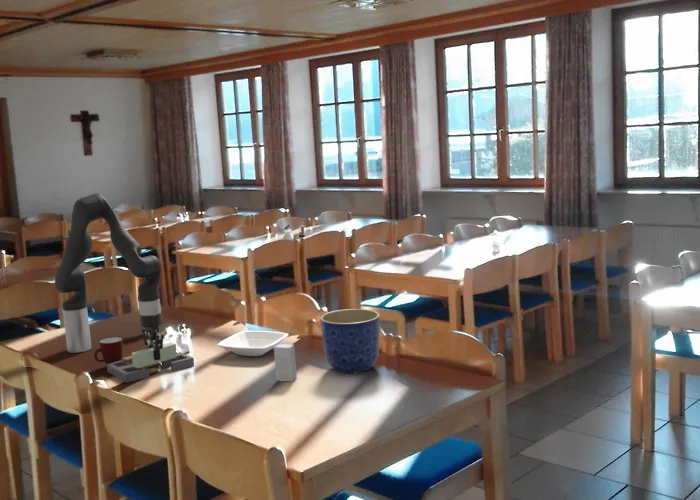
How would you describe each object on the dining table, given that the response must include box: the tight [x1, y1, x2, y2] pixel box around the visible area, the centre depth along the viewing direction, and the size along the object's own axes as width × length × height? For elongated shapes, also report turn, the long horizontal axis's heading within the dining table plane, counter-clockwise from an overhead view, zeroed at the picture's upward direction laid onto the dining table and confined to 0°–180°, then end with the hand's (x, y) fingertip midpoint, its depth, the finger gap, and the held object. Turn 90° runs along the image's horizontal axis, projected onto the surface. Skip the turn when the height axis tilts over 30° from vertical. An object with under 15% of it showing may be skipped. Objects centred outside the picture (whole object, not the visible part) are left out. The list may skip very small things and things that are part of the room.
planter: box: [319, 308, 381, 374], centre depth 285 cm, size 21×21×19 cm
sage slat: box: [131, 342, 177, 368], centre depth 294 cm, size 4×16×5 cm, turn 134°
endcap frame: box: [106, 351, 195, 384], centre depth 299 cm, size 18×26×3 cm
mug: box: [93, 336, 124, 366], centre depth 303 cm, size 10×8×10 cm
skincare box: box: [273, 343, 298, 382], centre depth 277 cm, size 6×4×12 cm
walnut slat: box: [122, 355, 160, 369], centre depth 302 cm, size 4×16×5 cm, turn 134°
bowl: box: [216, 330, 289, 357], centre depth 311 cm, size 22×23×6 cm
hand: (154, 358), depth 295 cm, fingers closed on sage slat, 3 cm apart
